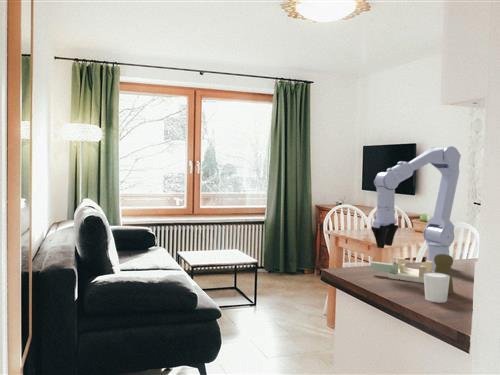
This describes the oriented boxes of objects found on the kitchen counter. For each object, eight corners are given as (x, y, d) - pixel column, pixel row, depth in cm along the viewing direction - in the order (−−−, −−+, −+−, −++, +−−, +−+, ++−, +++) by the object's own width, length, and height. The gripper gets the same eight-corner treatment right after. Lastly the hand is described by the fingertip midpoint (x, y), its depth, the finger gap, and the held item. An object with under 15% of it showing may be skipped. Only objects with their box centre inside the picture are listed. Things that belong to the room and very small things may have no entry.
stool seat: (398, 271, 161) (398, 257, 160) (434, 275, 154) (434, 261, 154) (388, 277, 151) (388, 262, 150) (426, 283, 144) (426, 267, 144)
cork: (455, 294, 131) (457, 257, 131) (433, 293, 133) (434, 256, 132) (451, 289, 137) (452, 253, 137) (429, 288, 138) (430, 252, 138)
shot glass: (417, 296, 129) (418, 272, 129) (438, 295, 131) (439, 271, 130) (433, 304, 122) (433, 278, 122) (454, 302, 124) (455, 277, 124)
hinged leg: (399, 272, 151) (399, 262, 151) (397, 273, 149) (397, 263, 149) (373, 268, 156) (373, 259, 156) (370, 269, 154) (371, 260, 154)
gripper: (387, 209, 147) (386, 250, 148) (405, 206, 158) (404, 245, 159) (367, 207, 152) (366, 248, 152) (386, 205, 163) (385, 243, 163)
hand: (384, 246), depth 156 cm, fingers open, 6 cm apart
